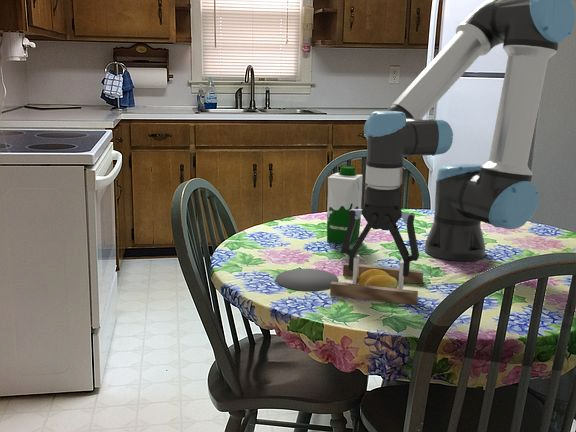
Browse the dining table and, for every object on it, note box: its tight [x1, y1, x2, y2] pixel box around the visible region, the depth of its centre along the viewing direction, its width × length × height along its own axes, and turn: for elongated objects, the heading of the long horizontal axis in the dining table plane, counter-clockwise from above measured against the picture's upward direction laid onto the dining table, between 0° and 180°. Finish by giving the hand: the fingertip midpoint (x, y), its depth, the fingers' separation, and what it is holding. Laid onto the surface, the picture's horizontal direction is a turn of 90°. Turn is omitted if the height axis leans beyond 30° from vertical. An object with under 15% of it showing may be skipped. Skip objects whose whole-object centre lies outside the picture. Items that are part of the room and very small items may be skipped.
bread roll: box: [357, 269, 399, 289], centre depth 138 cm, size 8×9×4 cm
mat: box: [275, 268, 339, 292], centre depth 143 cm, size 14×14×1 cm
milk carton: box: [326, 165, 363, 245], centre depth 173 cm, size 9×9×20 cm
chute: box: [329, 262, 425, 306], centre depth 138 cm, size 18×15×2 cm
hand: (377, 287), depth 138 cm, fingers open, 9 cm apart
